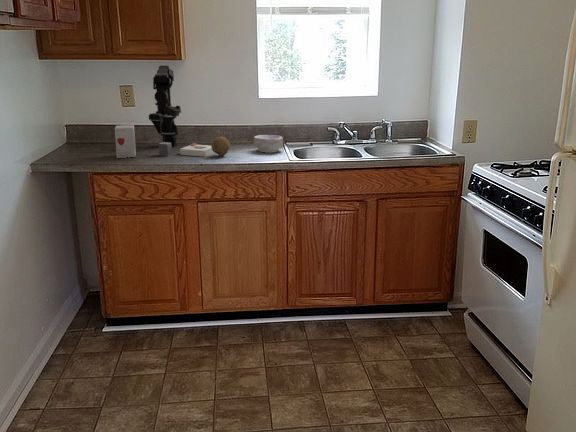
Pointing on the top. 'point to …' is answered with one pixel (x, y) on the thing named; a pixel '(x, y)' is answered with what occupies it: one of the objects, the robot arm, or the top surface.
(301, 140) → the top surface
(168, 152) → the plug
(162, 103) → the robot arm
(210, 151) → the socket plate
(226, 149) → the natural sponge
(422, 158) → the top surface
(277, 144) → the white bowl
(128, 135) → the supplement box
